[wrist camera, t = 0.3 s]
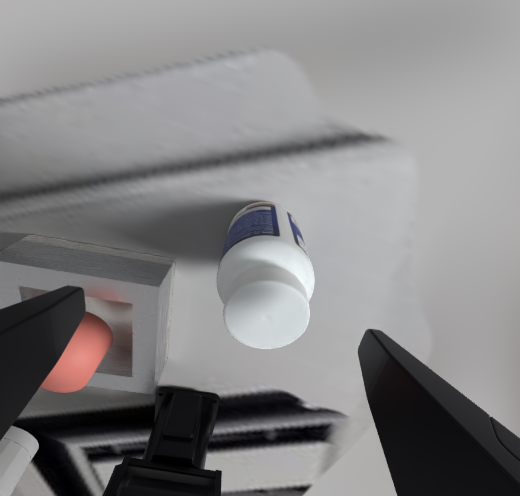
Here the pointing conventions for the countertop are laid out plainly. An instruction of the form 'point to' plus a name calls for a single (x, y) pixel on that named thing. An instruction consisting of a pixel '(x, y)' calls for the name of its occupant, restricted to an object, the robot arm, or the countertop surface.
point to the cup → (15, 457)
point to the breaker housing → (102, 300)
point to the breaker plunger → (80, 356)
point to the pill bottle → (265, 277)
